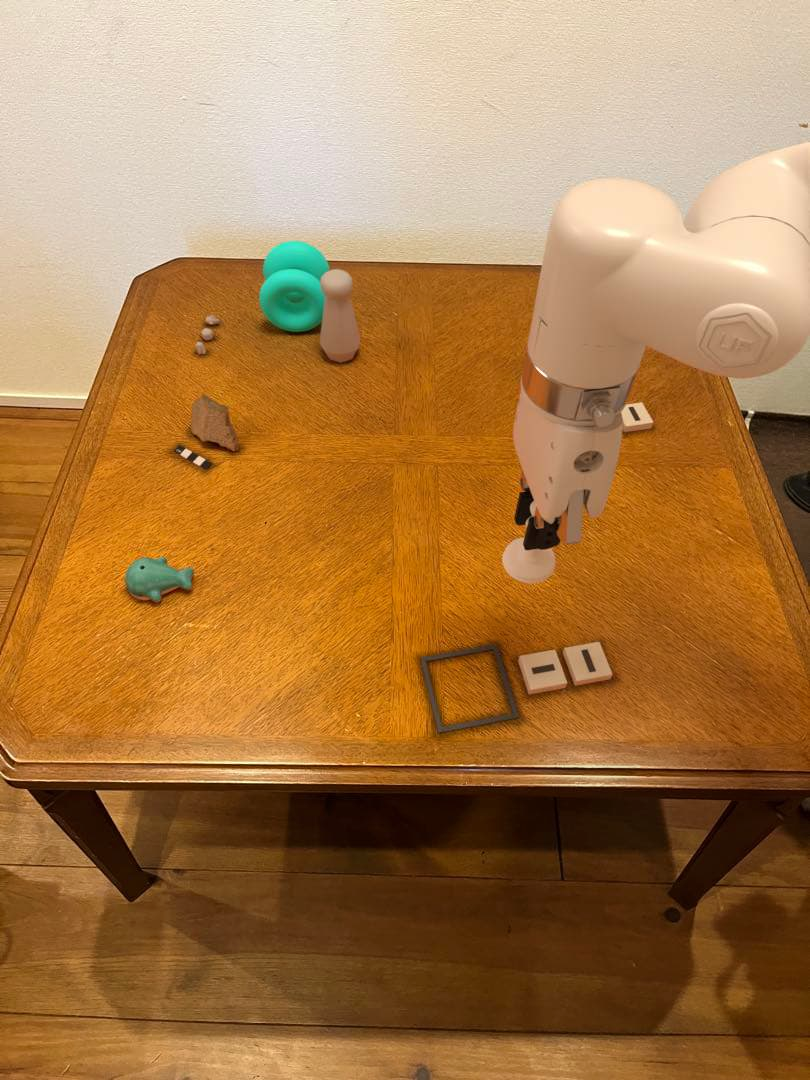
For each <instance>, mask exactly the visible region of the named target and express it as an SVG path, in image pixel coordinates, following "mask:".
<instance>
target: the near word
mask: <svg viewBox="0 0 810 1080" xmlns="http://www.w3.org/2000/svg"><path fill="white" fill-rule="evenodd" d="M490 651H493V654H494V657H495V660H496V663H497V667H498V670H499V674H500V676H501V680H502V683H503V686H504V689H505V690H504V691H505V693H506V696H507V700H508V702H509V705H510V709H511V712H512V713H508V714H503V715H498V716H494V717H488V718H483V719H477V720H472V721H467V722H463V723H462V722H461V723H458V724H451V725H447V726H443V725H442V720H441V718H440V717H441V716H440V714H439V710H438V705H437V701H436V697H435V694H434V690H433V685H432V680H431V677H430V672H429V669H428V665H427V663H428V662H429V663H430V662H434V661H439V660H441V661H442V660H445V659H452V658H457V657H462V656H463V657H464V656H469V655H473V654H479V653H485V652H490ZM562 655H563V659H564V661H565V664H566V667H567V669H568V672H569V675H570V677H571V680H572V683H573V686H575V687H577V686H582V685H588V684H592V683H597V682H603V681H608V680H611V679H612V676H613V672H612V669H611V667H610V664H609V662H608V659H607V656H606V655H605V652H604V650H603V647H602V645H601V642H600V641H595V642H589V643H584V644H577V645H573V646H568V647H564V648H563V650H562ZM419 659H420V661H419V662H420V665H421V669H422V672H423V677H424V681H425V685H426V689H427V693H428V698H429V702H430V705H431V710H432V714H433V718H434V723H435V727H436V730H437V734H438V735H439V734H443V733H450V732H455V731H460V730H464V729H471V728H475V727H479V726H485V725H486V726H487V725H490V724H496V723H501V722H506V721H512V720H516V719H520V714H519V711H518V708H517V705H516V701H515V697H514V695H513V692H512V689H511V685H510V683H509V679H508V676H507V673H506V669H505V667H504V662H503V660H502V657H501V653H500V649H499V647H498V643H497V644H495V643H494V644H489V645H484V646H479V647H474V648H468V649H467V648H466V649H463V650H462V649H461V650H456V651H450V652H445V653H439V654H434V655H433V654H432V655H428V656H423V657H420V658H419ZM517 662H518V666H519V668H520V672H521V674H522V678H523V681H524V684H525V688H526V690H527V693H528V695H529V696H530V695H534V694H541V693H545V692H551V691H556V690H561V689H565V688H567V685H568V681H567V677H566V675H565V672H564V670H563V667H562V664H561V661H560V659H559V655H558V654H557V651H556V649H550V650H545V651H538V652H534V653H527V654H523V655H519V656H518V660H517Z"/></svg>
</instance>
